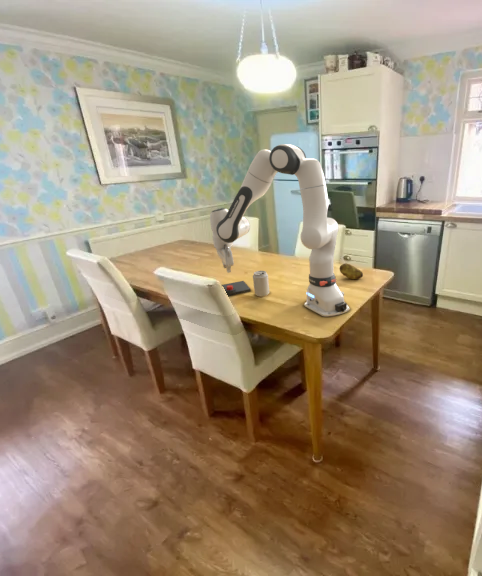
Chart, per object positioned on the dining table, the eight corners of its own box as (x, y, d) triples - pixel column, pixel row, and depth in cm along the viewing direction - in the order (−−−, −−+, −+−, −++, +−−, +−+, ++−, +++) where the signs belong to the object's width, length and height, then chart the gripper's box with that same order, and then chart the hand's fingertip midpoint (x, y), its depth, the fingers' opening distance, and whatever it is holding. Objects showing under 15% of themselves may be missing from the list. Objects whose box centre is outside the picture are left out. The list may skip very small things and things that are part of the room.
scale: (251, 292, 166) (250, 286, 165) (226, 297, 160) (225, 291, 159) (243, 282, 178) (242, 277, 177) (220, 287, 173) (219, 282, 171)
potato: (356, 282, 174) (356, 268, 171) (337, 277, 182) (337, 264, 179) (364, 278, 180) (364, 264, 177) (345, 273, 187) (345, 260, 184)
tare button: (233, 289, 162) (233, 286, 162) (227, 291, 161) (227, 287, 160) (232, 287, 165) (231, 284, 164) (226, 289, 164) (225, 285, 163)
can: (266, 297, 158) (264, 275, 154) (252, 296, 160) (249, 274, 155) (271, 291, 165) (269, 270, 161) (258, 291, 167) (255, 269, 162)
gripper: (234, 246, 146) (238, 274, 152) (225, 237, 163) (228, 263, 169) (221, 248, 144) (225, 277, 149) (212, 239, 161) (216, 265, 166)
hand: (227, 269), depth 159 cm, fingers open, 6 cm apart
